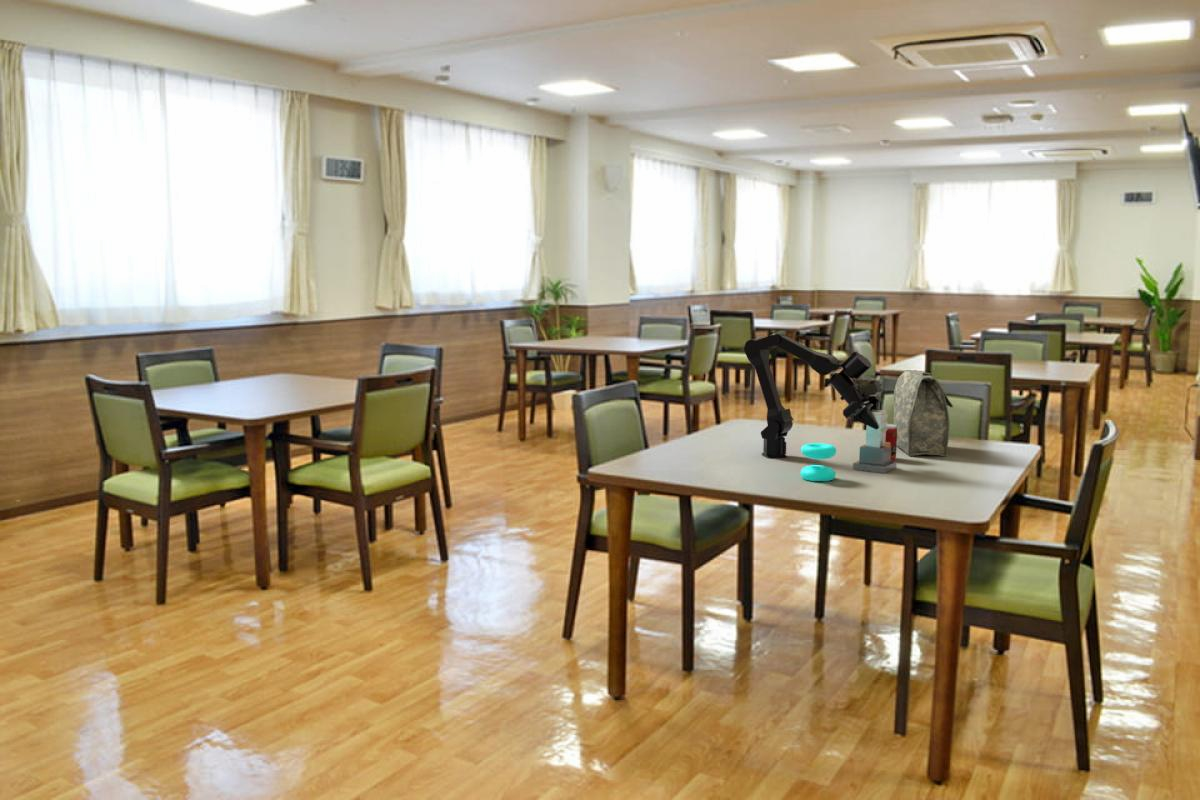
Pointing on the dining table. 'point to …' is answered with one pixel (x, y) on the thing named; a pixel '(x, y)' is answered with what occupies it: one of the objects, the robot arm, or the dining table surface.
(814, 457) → the donuts
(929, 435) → the bag
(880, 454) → the stand base
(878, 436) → the column
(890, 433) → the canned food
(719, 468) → the dining table surface
